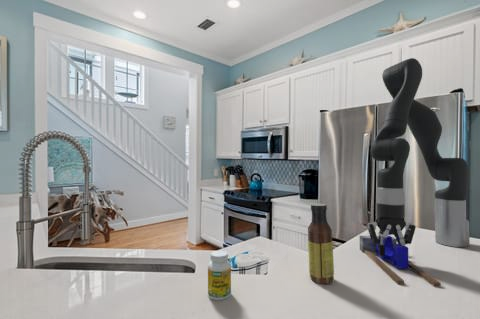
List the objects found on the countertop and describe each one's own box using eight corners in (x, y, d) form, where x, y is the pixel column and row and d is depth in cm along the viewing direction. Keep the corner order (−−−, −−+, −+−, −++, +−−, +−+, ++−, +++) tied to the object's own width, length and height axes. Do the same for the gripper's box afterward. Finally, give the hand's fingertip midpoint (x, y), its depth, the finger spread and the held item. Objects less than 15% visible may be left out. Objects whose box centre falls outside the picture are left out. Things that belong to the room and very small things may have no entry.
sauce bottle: (333, 276, 67) (333, 203, 68) (334, 287, 62) (334, 206, 62) (308, 273, 70) (308, 201, 70) (307, 283, 64) (307, 205, 64)
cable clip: (375, 253, 84) (375, 235, 84) (390, 253, 84) (390, 235, 84) (391, 267, 72) (391, 246, 72) (408, 268, 72) (408, 247, 72)
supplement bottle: (228, 287, 61) (228, 248, 61) (232, 299, 56) (233, 256, 56) (206, 290, 60) (206, 250, 60) (208, 302, 55) (209, 258, 55)
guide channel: (392, 251, 88) (392, 236, 88) (442, 287, 62) (442, 266, 62) (359, 249, 89) (359, 235, 89) (395, 284, 63) (395, 264, 63)
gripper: (408, 200, 81) (408, 253, 81) (362, 199, 83) (362, 251, 83) (422, 204, 74) (422, 262, 73) (371, 203, 75) (371, 260, 75)
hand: (390, 256), depth 78 cm, fingers closed on cable clip, 4 cm apart
